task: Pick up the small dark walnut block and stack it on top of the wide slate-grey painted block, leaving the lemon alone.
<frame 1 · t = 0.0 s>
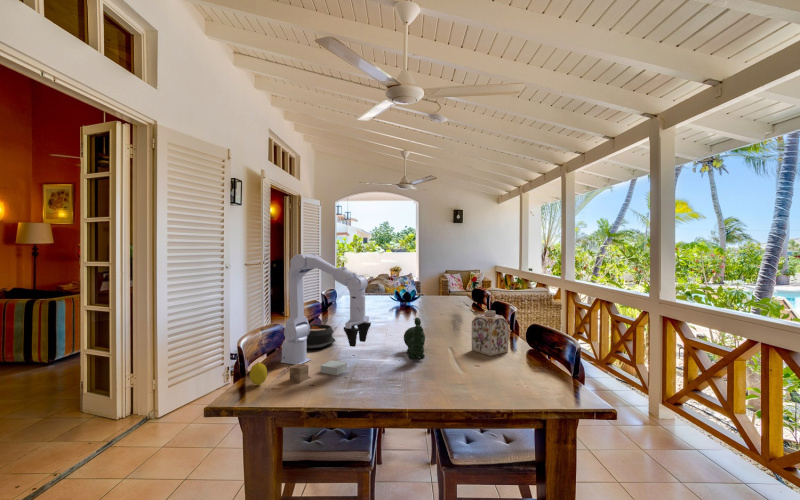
hand: (357, 343, 147), 10 cm above the table, tool pointing down, fingers open, 7 cm apart
grey block: (333, 371, 146), on the table
decorative jar: (489, 351, 173), on the table
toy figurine: (415, 356, 167), on the table
lemon: (258, 386, 131), on the table
casserole: (315, 345, 185), on the table
walnut block: (299, 380, 137), on the table
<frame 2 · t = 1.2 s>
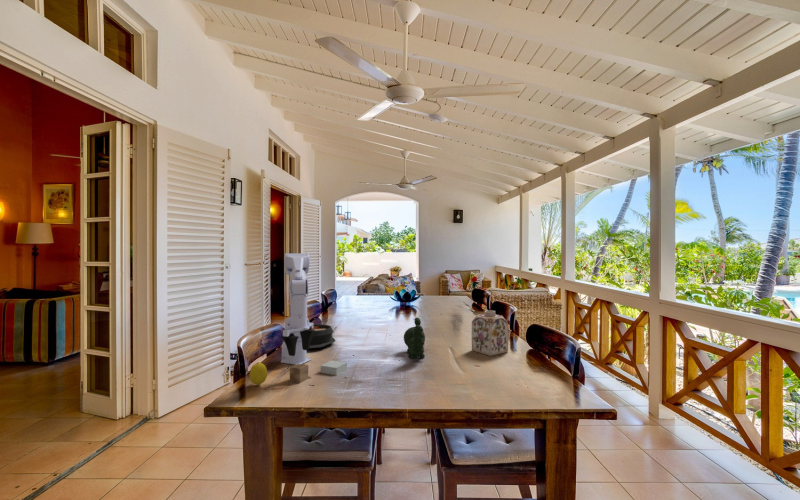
hand: (298, 352, 137), 10 cm above the table, tool pointing down, fingers open, 7 cm apart
nothing on the table moved.
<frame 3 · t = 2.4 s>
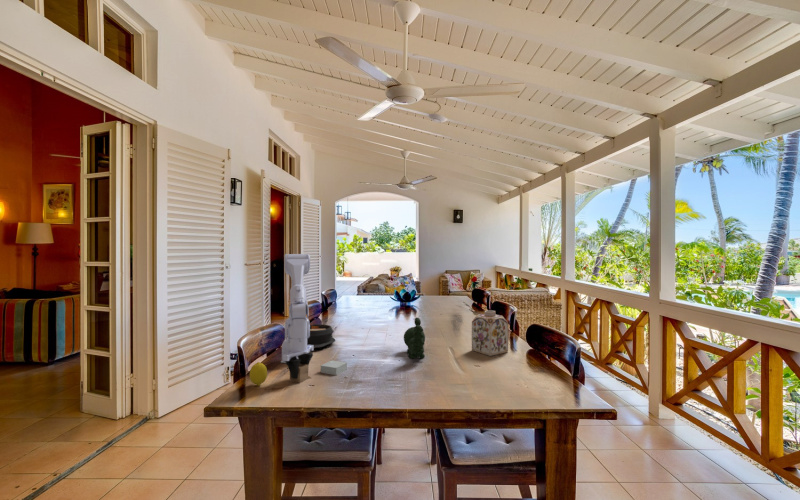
hand: (299, 375, 137), 1 cm above the table, tool pointing down, fingers closed on walnut block, 4 cm apart
walnut block: (299, 379, 137), on the table, touching gripper
everything else where it was.
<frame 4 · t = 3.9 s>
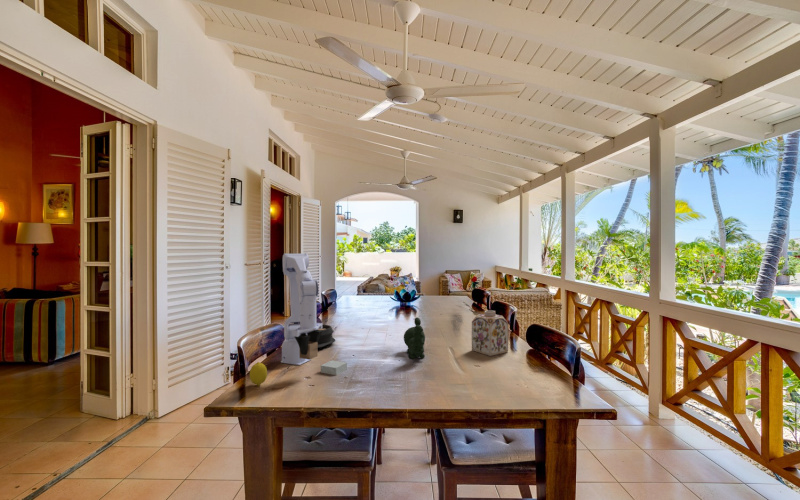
hand: (308, 352, 139), 9 cm above the table, tool pointing down, fingers closed on walnut block, 4 cm apart
walnut block: (308, 357, 139), point 7 cm above the table, touching gripper
everything else where it was.
when the fingers open (6 cm above the table, at t = 5.7 s): walnut block drops 1 cm, point 2 cm above the table.
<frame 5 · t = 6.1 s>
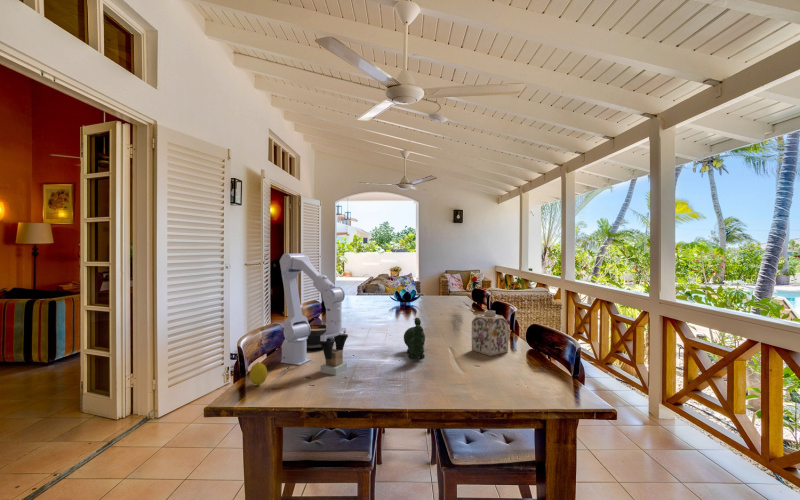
hand: (333, 356, 146), 6 cm above the table, tool pointing down, fingers open, 7 cm apart
walnut block: (334, 364, 146), point 2 cm above the table
everything else where it was.
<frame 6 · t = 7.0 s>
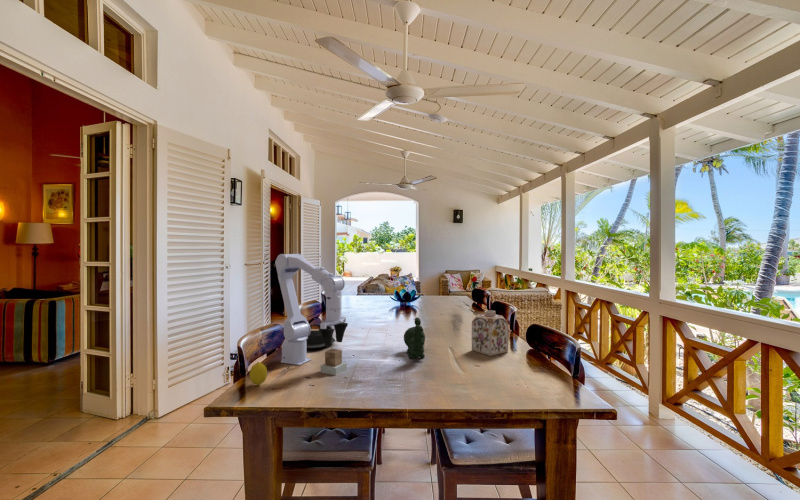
hand: (333, 344, 147), 10 cm above the table, tool pointing down, fingers open, 7 cm apart
grey block: (333, 372, 146), on the table, touching walnut block
walnut block: (333, 364, 146), point 3 cm above the table, touching grey block
everything else where it was.
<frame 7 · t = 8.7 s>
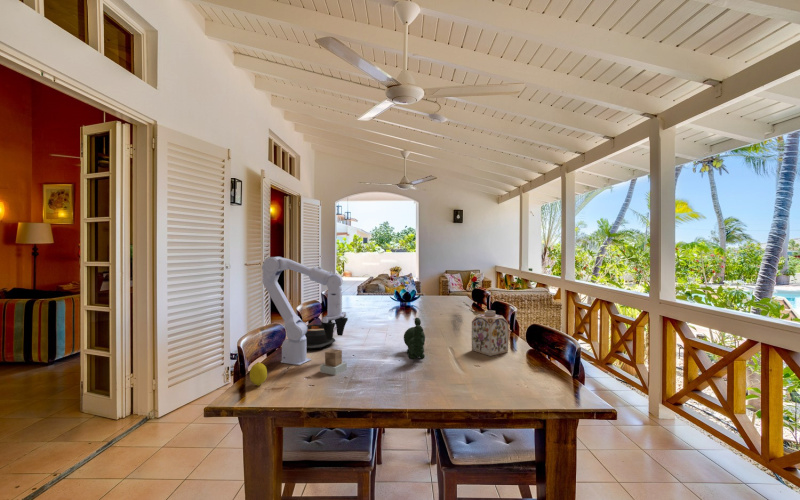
hand: (334, 337, 158), 10 cm above the table, tool pointing down, fingers open, 7 cm apart
nothing on the table moved.
at the end: walnut block 0.3 cm from the grey block (horizontally); walnut block point 2.5 cm above the table; walnut block touching grey block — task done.
